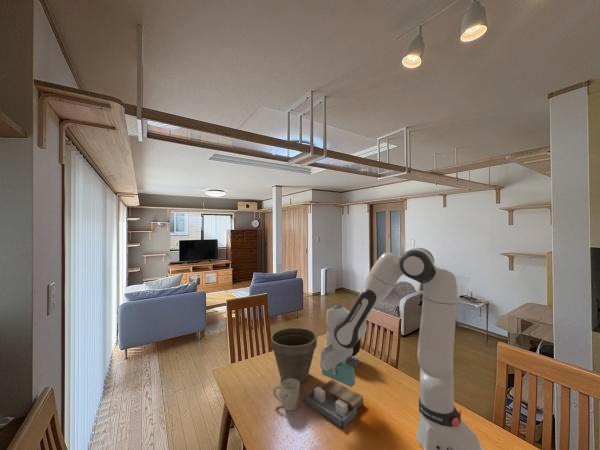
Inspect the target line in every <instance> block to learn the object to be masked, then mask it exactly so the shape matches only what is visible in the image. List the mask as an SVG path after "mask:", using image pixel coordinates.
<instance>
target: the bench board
mask: <svg viewBox="0 0 600 450" xmlns="http://www.w3.org/2000/svg"><path fill="white" fill-rule="evenodd" d="M320 388H321V389H323V390H325V396H327V397H329V398H330V399H332V400H334V401H335V402H336V401H337V400H338V399H340V400H341V401H343V402H345V403H346V404H348V410H350V411H352V410H353V409H354V408H356V409H357V411H358V410H359V409H360V408H361V407H362V406H363V405H364V396H363V395H361V394H359V393H357V392H355V391H354V390H352V389H350V388H348V387H346V385H345V386H344V384H343V385H342V383H340V382H338V381H336V380H334V379H330V380H329V381H327V382H326V383H324V384H323V385H322V386H320Z"/></svg>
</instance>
